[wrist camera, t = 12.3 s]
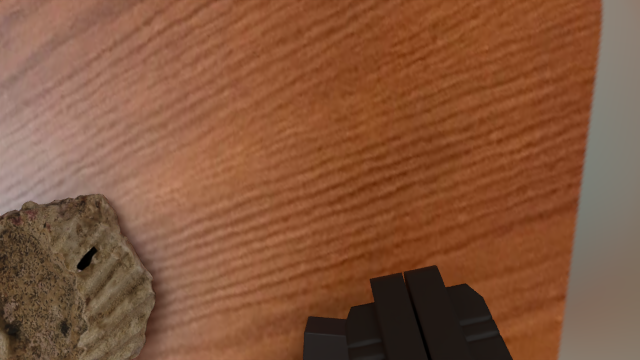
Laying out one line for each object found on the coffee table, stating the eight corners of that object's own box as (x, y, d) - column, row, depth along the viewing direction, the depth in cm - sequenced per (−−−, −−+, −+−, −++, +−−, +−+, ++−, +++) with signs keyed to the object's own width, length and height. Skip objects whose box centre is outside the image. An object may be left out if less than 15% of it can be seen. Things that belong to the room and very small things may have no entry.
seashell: (158, 188, 35) (-26, 176, 31) (169, 206, 28) (-62, 193, 25) (143, 361, 36) (-38, 369, 32) (150, 417, 29) (-75, 434, 26)
